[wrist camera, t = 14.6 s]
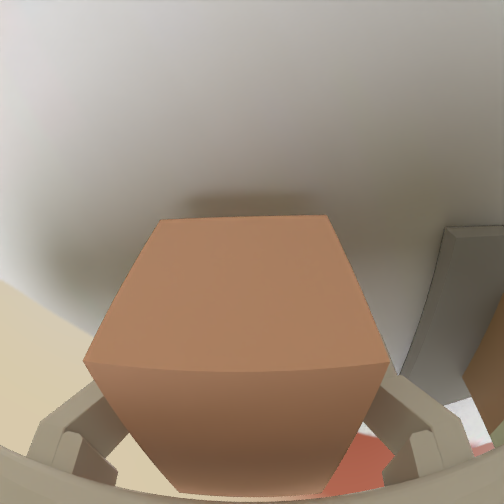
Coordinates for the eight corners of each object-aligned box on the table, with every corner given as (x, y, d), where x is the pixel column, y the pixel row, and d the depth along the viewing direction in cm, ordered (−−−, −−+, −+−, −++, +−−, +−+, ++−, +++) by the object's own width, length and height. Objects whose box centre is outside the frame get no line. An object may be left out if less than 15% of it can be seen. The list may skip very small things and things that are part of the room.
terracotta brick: (326, 214, 8) (390, 361, 4) (307, 378, 12) (321, 493, 7) (160, 219, 8) (82, 361, 4) (195, 379, 12) (179, 492, 8)
